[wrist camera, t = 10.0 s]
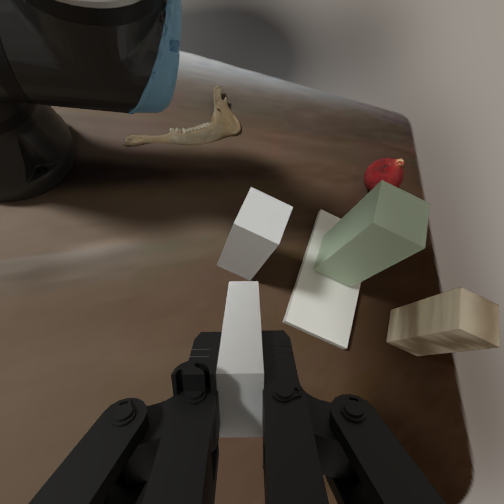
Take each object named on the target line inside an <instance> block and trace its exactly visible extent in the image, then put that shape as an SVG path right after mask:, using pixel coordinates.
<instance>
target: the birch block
mask: <svg viewBox="0 0 504 504" xmlns="http://www.w3.org/2000/svg"><path fill="white" fill-rule="evenodd" d="M386 342H387V343H389V344H391V345H393V346H396V347H398V348H400V349H402V350H404V351H407V352H409V353H411V354H413V355H415V356H424V355H433V354H443V353H452V352H461V351H470V350H480V349H489V348H498V347H500V338H499V305H498V304H495V303H493V302H492V301H489V300H487V299H485V298H483V297H481V296H479V295H477V294H475V293H473V292H471V291H468V290H466V289H464V288H462V287H459V288H456V289H453V290H450V291H447V292H444V293H441V294H438V295H435V296H432V297H429V298H426V299H423V300H420V301H417V302H413V303H410V304H407V305H404V306H401V307H398V308H395V309H392V310H391V314H390V320H389V327H388V334H387V340H386Z"/></svg>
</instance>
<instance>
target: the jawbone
mask: <svg viewBox="0 0 504 504" xmlns="http://www.w3.org/2000/svg"><path fill="white" fill-rule="evenodd" d="M222 91H223V90H222V88H221V86H216V87H215V89H214V91H213V100H214V114H213V117H212V121H211V123H210V122H209V123H205V124H202V125H200V126H197V127H192V128H189V129H185V128H183V129H179V128H176V129H173V128H170V129H169V130H170V133H169V134H165V135H159V136H146V135H129V136H127V137H126V138H125V144H124V145H129V146H137V145H142V144H146V143H170V144H180V145H200V144H206V143H210V142H214V141H217V140H220V139H222V138H224V137H227V136H234V135H238V134H239V132H240V131H241V125H240V123H239V121H238V119H237V118H236V117H235V116H234V115H233V113H232V112H231V111H230V109H229V107H228V103H227V97H225V99H224V100H222V98H221V93H222Z"/></svg>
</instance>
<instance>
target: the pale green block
mask: <svg viewBox="0 0 504 504" xmlns="http://www.w3.org/2000/svg"><path fill="white" fill-rule="evenodd" d="M429 206H430V203H428V202H426V201H424V200H422V199H420V198H417V197H415V196H413V195H411V194H409V193H407V192H405V191H403V190H401V189H399V188H397V187H395V186H393V185H391V184H389V183H387V182H385V181H383V180H381V181H380V182H379V183H378V184H377V185H376V186H375V187H374V188H373V189H372V190H371V191H370V192H369V193H368V194H367V195H366V196H365V197H364V198H363V199H362V200H360V201H359V202H358V203H357V204H356V205H355V206H354V207H353V208H352V209H351V210H350V211H349V212H348V213H347V214H346V215H345V216H344V217H343V218H342V219H341V220H339V221H338V222H337V223H336V224H335V225H334V226H333V227H332V228H331V229H330V230H329V231H328V232H327V233H326V234H325V235H324V236H323V239H322V242H321V245H320V249H319V252H318V255H317V259H316V262H315V265H314V269H313V270H315V271H317V272H319V273H321V274H323V275H325V276H327V277H330V278H332V279H334V280H336V281H338V282H340V283H343V284H345V285H347V286H349V287H352V286H354V285H356V284H358V283H360V282H362V281H364V280H366V279H368V278H369V277H371V276H373V275H375V274H377V273H379V272H381V271H383V270H385V269H387V268H388V267H390V266H392V265H394V264H396V263H398V262H400V261H402V260H404V259H406V258H407V257H409V256H411V255H413V254H415V253H417V252H419V251H421V250H423V249H425V245H426V236H427V226H428V217H429Z"/></svg>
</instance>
